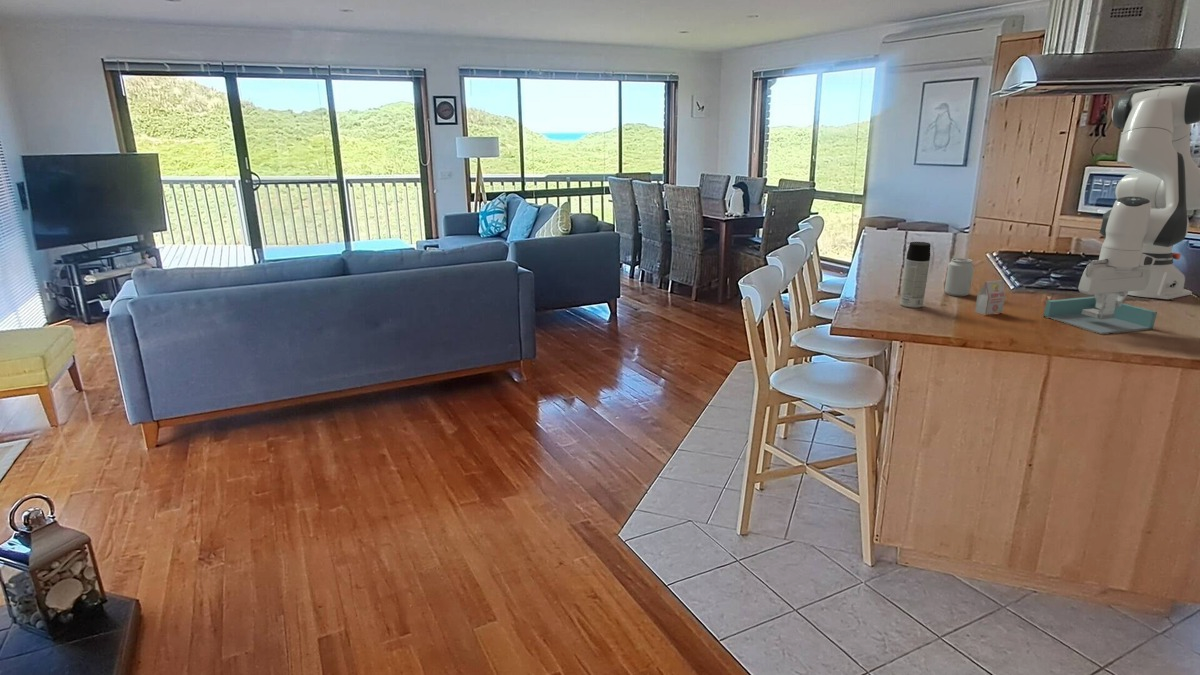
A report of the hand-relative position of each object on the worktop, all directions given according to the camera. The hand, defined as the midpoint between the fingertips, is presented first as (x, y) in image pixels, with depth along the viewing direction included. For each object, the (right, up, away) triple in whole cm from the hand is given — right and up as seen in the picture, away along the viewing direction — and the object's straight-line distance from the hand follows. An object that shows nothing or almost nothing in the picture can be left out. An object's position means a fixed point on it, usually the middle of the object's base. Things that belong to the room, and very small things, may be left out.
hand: (1107, 307), depth 181 cm
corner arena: (+1, -4, +6) cm, 7 cm away
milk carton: (-23, -1, +17) cm, 29 cm away
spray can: (-42, +2, +26) cm, 50 cm away
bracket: (0, -2, +3) cm, 4 cm away
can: (-21, +6, +39) cm, 45 cm away
